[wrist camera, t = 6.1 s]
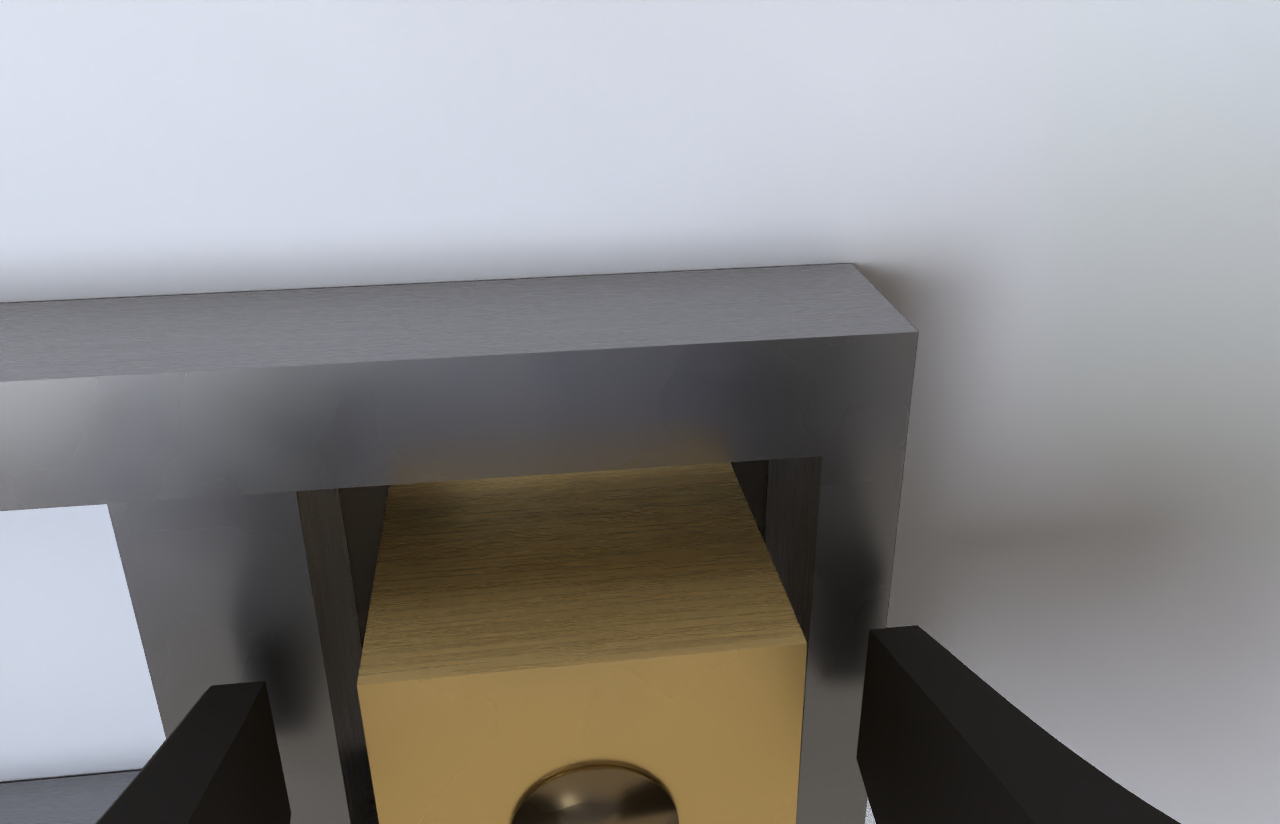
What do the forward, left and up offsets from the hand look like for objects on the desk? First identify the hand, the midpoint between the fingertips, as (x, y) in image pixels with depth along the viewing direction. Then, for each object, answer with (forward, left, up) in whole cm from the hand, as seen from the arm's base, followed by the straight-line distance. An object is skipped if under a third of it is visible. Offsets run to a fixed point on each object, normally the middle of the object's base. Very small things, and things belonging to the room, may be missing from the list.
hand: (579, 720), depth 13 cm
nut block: (0, 0, -3) cm, 3 cm away
